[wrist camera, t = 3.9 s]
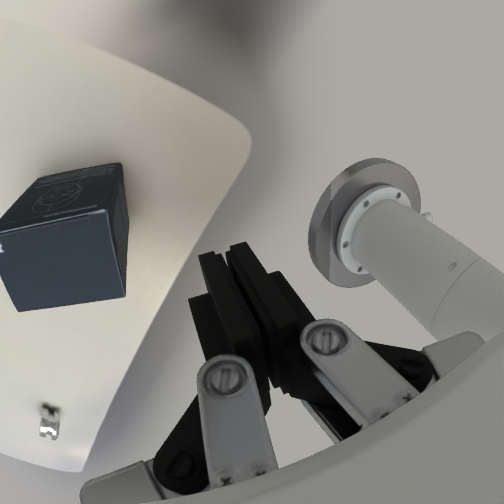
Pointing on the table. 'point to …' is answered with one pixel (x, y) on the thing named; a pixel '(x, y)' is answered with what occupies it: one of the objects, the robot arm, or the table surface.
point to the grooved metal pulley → (49, 424)
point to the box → (66, 240)
